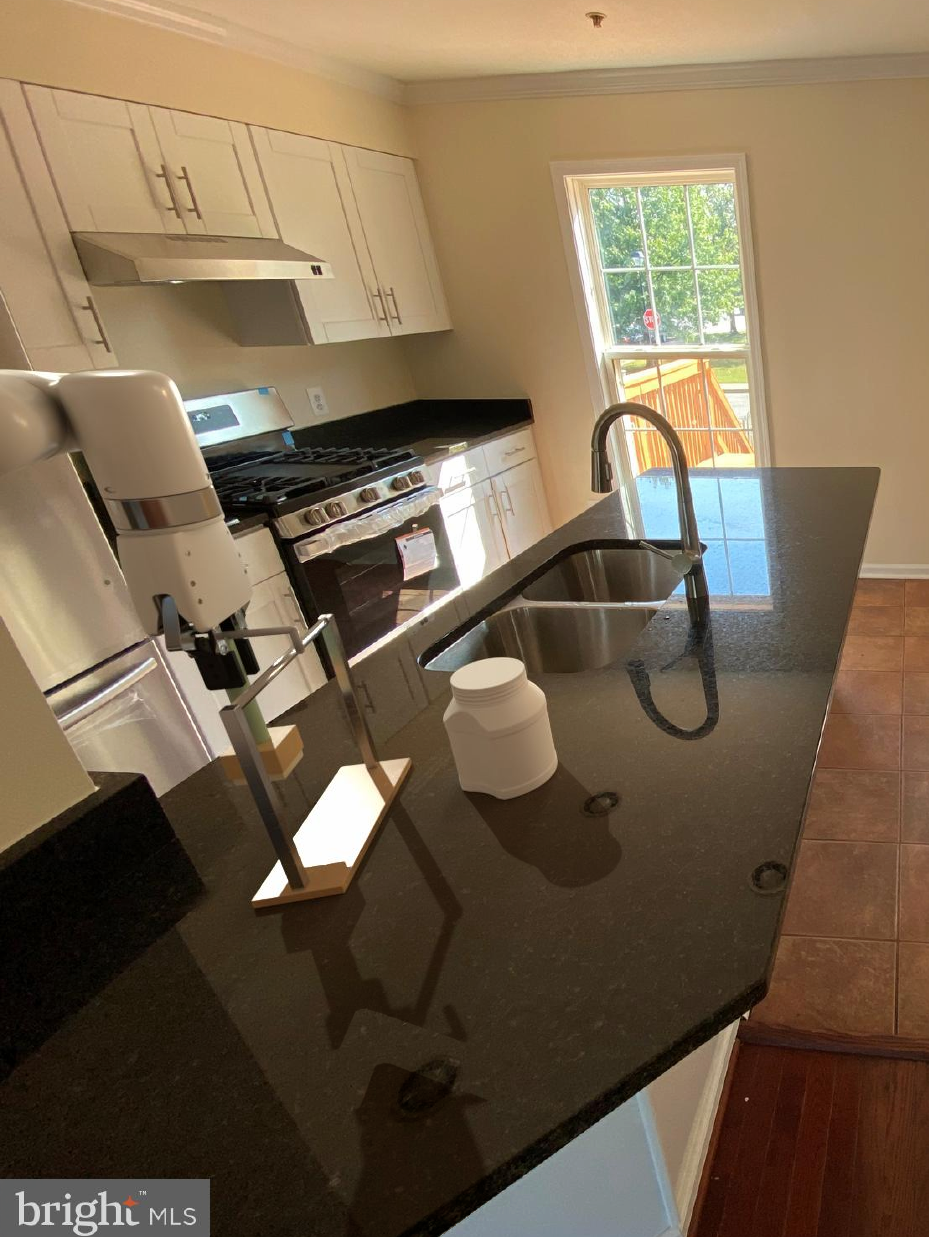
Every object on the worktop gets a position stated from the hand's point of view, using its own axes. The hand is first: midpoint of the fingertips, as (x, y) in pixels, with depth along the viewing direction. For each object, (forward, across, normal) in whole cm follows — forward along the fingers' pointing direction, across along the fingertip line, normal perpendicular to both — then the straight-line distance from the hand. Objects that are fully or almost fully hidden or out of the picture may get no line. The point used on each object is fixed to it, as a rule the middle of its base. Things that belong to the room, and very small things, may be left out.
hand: (234, 680), depth 72 cm
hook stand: (+11, 0, +2) cm, 12 cm away
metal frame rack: (+20, 0, +5) cm, 21 cm away
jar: (+21, -6, +22) cm, 31 cm away
